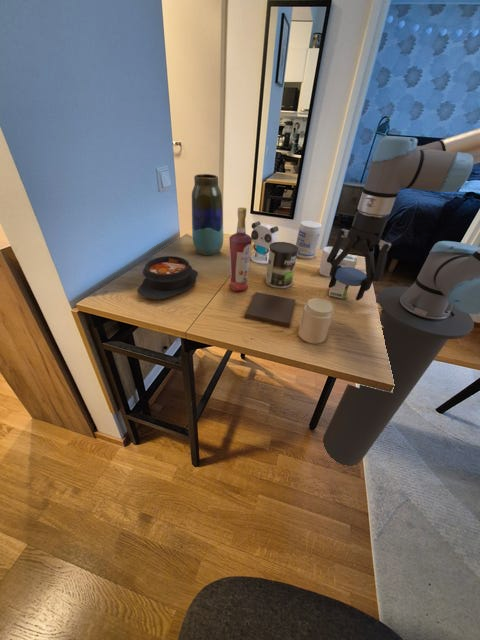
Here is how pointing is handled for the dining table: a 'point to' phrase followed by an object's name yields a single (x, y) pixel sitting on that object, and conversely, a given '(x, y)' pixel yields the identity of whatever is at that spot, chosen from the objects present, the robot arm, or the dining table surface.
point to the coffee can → (281, 264)
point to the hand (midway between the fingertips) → (344, 292)
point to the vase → (207, 214)
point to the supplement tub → (308, 239)
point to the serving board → (271, 309)
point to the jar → (315, 320)
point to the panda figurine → (262, 241)
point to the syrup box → (341, 288)
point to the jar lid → (350, 276)
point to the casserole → (167, 277)
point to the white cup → (324, 265)
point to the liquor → (239, 254)
